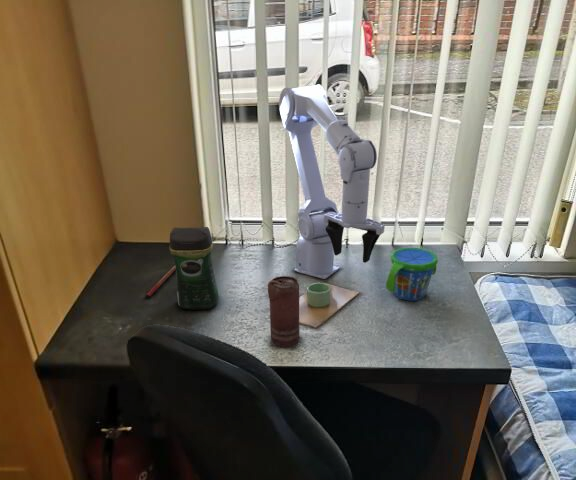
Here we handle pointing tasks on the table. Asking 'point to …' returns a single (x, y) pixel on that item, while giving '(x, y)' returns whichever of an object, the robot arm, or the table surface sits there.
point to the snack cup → (411, 272)
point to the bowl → (318, 294)
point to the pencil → (160, 282)
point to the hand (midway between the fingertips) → (351, 257)
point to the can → (284, 311)
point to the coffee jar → (194, 267)
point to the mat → (320, 315)
